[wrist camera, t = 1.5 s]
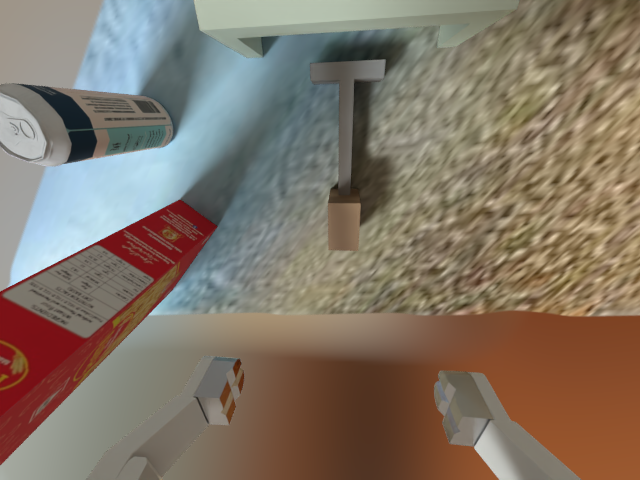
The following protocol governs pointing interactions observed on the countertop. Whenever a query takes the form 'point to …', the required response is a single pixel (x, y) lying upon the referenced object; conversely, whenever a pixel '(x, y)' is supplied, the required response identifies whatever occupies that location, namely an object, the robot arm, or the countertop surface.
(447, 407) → the robot arm
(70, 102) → the beer can
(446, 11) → the pale green bridge
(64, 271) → the food packaging
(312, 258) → the countertop surface
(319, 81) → the scraper
